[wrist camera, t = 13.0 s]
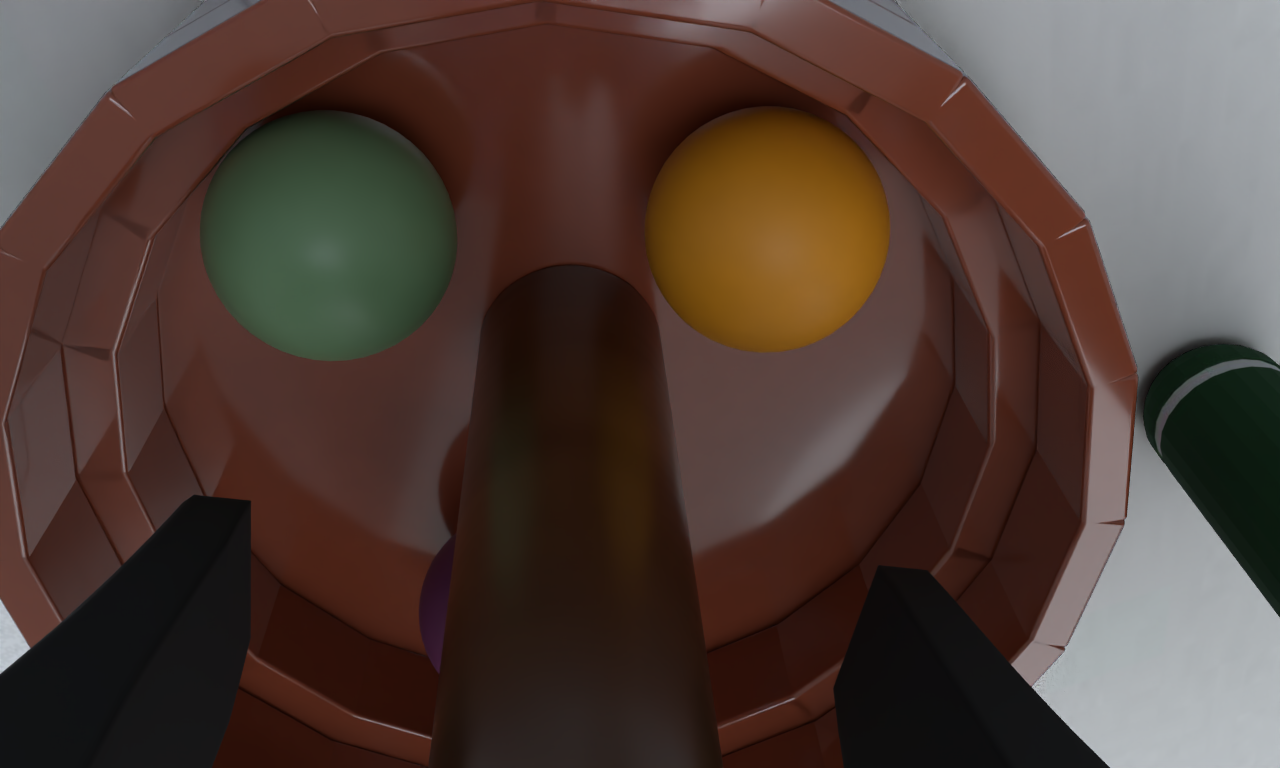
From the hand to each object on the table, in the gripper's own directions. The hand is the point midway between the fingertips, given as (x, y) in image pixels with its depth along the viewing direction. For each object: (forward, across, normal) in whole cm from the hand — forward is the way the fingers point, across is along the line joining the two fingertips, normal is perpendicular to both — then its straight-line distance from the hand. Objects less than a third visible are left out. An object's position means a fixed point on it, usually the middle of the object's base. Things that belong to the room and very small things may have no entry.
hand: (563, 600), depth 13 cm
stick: (+4, 0, -1) cm, 5 cm away
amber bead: (+3, -2, -4) cm, 5 cm away
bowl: (+5, 0, 0) cm, 5 cm away
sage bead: (+3, +3, -3) cm, 5 cm away
